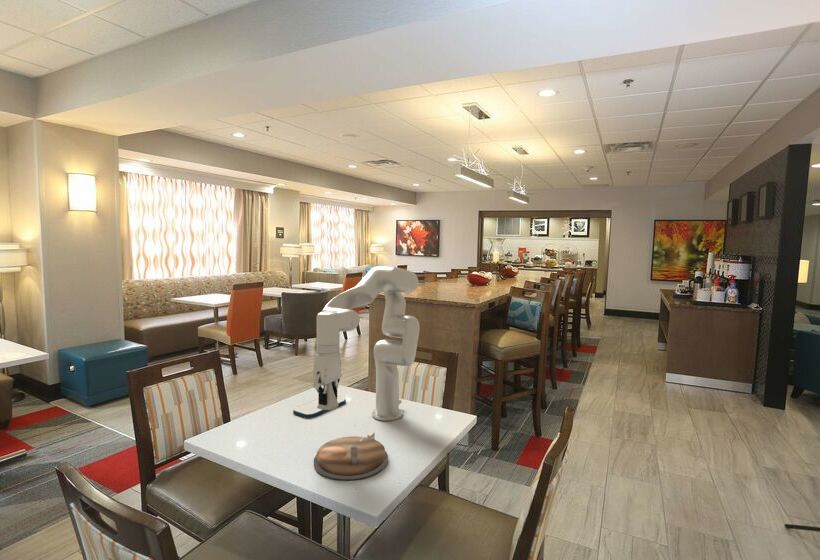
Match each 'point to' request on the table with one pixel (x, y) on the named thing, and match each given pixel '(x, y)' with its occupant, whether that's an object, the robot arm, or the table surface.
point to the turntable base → (352, 477)
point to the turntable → (350, 455)
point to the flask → (329, 399)
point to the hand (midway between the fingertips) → (327, 401)
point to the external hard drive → (314, 408)
